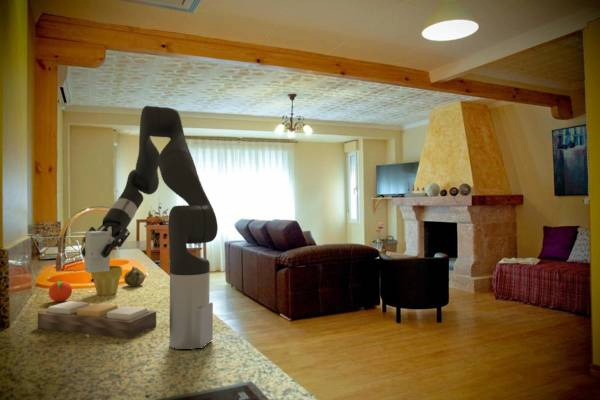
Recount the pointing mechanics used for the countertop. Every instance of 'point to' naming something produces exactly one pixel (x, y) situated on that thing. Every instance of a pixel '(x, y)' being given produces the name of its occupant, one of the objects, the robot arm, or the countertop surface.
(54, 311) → the key outer
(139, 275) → the onion
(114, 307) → the key amber
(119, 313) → the key inner
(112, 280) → the plant pot
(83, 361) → the countertop surface
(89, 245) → the skincare box
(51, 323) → the keypad
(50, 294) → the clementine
